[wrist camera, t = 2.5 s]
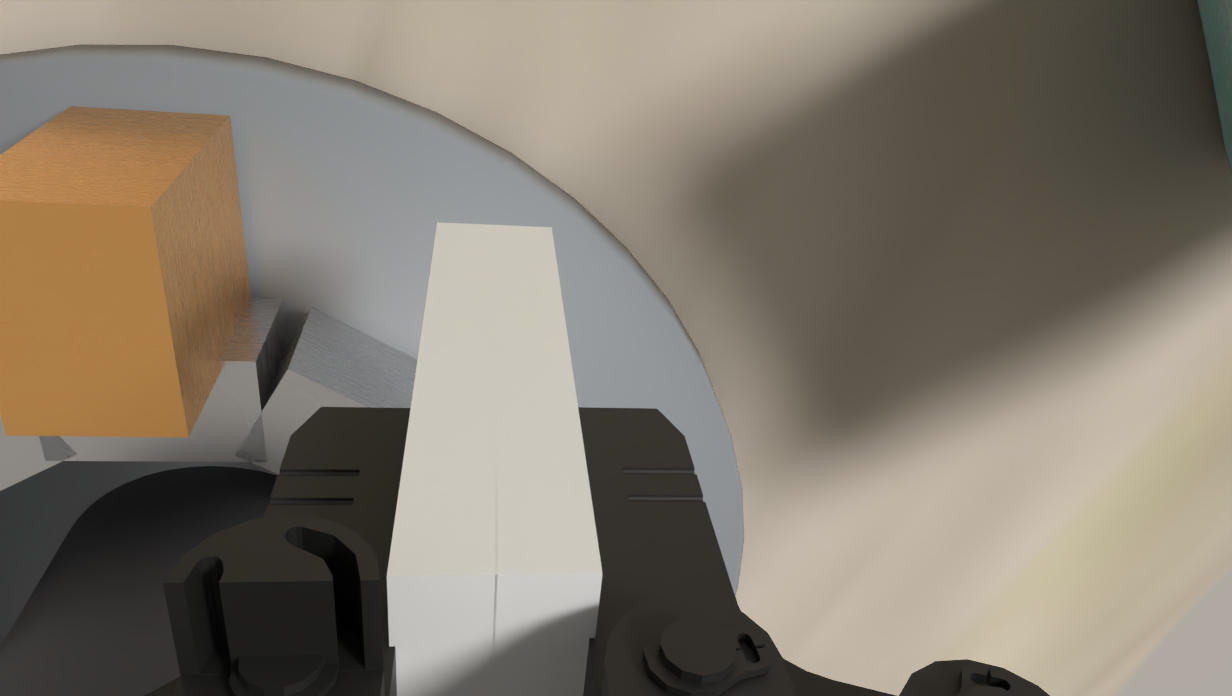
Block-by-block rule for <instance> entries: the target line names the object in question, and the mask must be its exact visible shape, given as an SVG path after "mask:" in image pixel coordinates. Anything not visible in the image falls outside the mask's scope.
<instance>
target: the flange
mask: <svg viewBox="0 0 1232 696" xmlns="http://www.w3.org/2000/svg"><path fill="white" fill-rule="evenodd" d="M70 106H77V107H93V108H110V109H127V110H144V111H161V112H178V113H194V114H211V115H228V116H230V117H231V125H232V134H233V143H234V152H235V161H236V169H237V178H238V187H239V196H240V205H241V213H242V222H243V231H244V240H245V249H246V257H247V266H248V275H249V284H250V293H251V298H272V299H283V304H284V314H285V325H286V335H287V345H288V344H289V342H290V340H291V339H292V337H293V336H294V334H295V332H296V331H297V329H298V327H299V326H300V324H301V322H302V321H303V319H304V318H305V316H306V314H307V313H308V311H309V309H310V308H311V306H312V307H314V308H316V309H318V310H320V311H322V312H324V313H326V314H328V315H330V316H332V317H334V318H336V319H338V320H340V321H342V322H344V323H346V324H348V325H350V326H352V327H354V328H356V329H358V330H360V331H362V332H364V333H366V334H367V335H369V336H371V337H373V338H375V339H377V340H379V341H381V342H383V343H385V344H387V345H389V346H391V347H393V348H395V349H397V350H399V351H401V352H403V353H405V354H407V355H409V356H411V357H413V358H415V359H417V360H418V353H419V346H420V339H421V332H422V325H423V318H424V311H425V304H426V297H427V290H428V283H429V276H430V269H431V262H432V255H433V248H434V241H435V234H436V227H437V222H443V223H465V224H488V225H511V226H534V227H552V232H553V239H554V246H555V253H556V260H557V266H558V273H559V280H560V287H561V294H562V301H563V307H564V314H565V321H566V328H567V335H568V341H569V348H570V355H571V362H572V369H573V375H574V382H575V389H576V396H577V403H578V407H589V408H654V409H658V410H659V411H660V412H661V413H662V414H663V415H664V416H665V417H666V418H667V419H668V420H669V421H670V422H671V423H672V424H673V425H674V426H675V427H676V428H677V429H678V430H679V431H680V432H681V433H682V434H683V435H684V436H685V439H686V442H687V445H688V448H689V452H690V455H691V458H692V461H693V464H694V467H695V470H694V472H695V474H697V477H698V480H699V483H700V487H701V490H702V493H703V502H706V506H707V509H708V512H709V515H710V518H711V521H712V525H713V528H714V531H715V534H716V537H717V540H718V544H719V547H720V550H721V553H722V556H723V560H724V563H725V566H726V569H727V572H728V575H729V579H730V582H731V585H732V588H733V591H734V594H735V595H736V592H737V588H738V582H739V575H740V567H741V559H742V552H743V544H744V523H743V497H742V485H741V481H740V476H739V471H738V466H737V462H736V457H735V452H734V447H733V443H732V438H731V434H730V432H729V429H728V426H727V424H726V421H725V418H724V416H723V413H722V410H721V408H720V405H719V403H718V400H717V397H716V395H715V392H714V390H713V387H712V385H711V382H710V380H709V377H708V374H707V372H706V369H705V367H704V364H703V362H702V359H701V357H700V354H699V352H698V350H697V348H696V347H695V345H694V343H693V341H692V340H691V338H690V336H689V335H688V333H687V331H686V329H685V328H684V326H683V324H682V323H681V321H680V319H679V317H678V316H677V314H676V312H675V311H674V309H673V307H672V305H671V304H670V302H669V300H668V299H667V298H666V296H665V295H664V294H663V293H662V291H661V290H660V289H659V288H658V286H657V285H656V284H655V283H654V281H653V280H652V279H651V278H650V276H649V275H648V274H647V273H646V271H645V270H644V269H643V268H642V266H641V265H640V264H639V263H638V261H637V260H636V259H635V258H634V256H633V255H632V254H631V253H630V251H629V250H628V249H627V248H626V247H625V246H624V245H623V244H622V243H621V242H620V241H619V240H618V239H617V238H616V237H615V236H614V235H613V234H612V233H610V232H609V231H608V230H607V229H606V228H605V227H604V226H603V225H602V224H601V223H600V222H599V221H598V220H597V219H596V218H595V217H593V216H592V215H591V214H590V213H589V212H588V211H587V210H586V209H585V208H584V207H583V206H582V205H581V204H580V203H579V202H578V201H577V200H575V199H574V198H573V197H572V196H570V195H569V194H568V193H566V192H565V191H563V190H562V189H561V188H559V187H558V186H556V185H555V184H554V183H552V182H551V181H550V180H548V179H547V178H545V177H544V176H543V175H541V174H540V173H538V172H537V171H536V170H534V169H533V168H531V167H530V166H529V165H527V164H526V163H524V162H523V161H522V160H520V159H519V158H518V157H516V156H515V155H513V154H512V153H511V152H509V151H507V150H505V149H503V148H501V147H499V146H498V145H496V144H494V143H492V142H490V141H488V140H487V139H485V138H483V137H481V136H479V135H477V134H476V133H474V132H472V131H470V130H468V129H466V128H464V127H463V126H461V125H459V124H457V123H455V122H453V121H452V120H450V119H448V118H446V117H444V116H442V115H440V114H439V113H437V112H434V111H432V110H429V109H426V108H424V107H421V106H419V105H416V104H414V103H411V102H409V101H406V100H403V99H401V98H398V97H396V96H393V95H391V94H388V93H386V92H383V91H381V90H378V89H375V88H373V87H370V86H368V85H365V84H363V83H360V82H358V81H355V80H351V79H347V78H343V77H340V76H336V75H332V74H328V73H324V72H320V71H316V70H312V69H309V68H305V67H301V66H297V65H293V64H289V63H285V62H282V61H278V60H274V59H270V58H266V57H258V56H251V55H243V54H235V53H228V52H220V51H213V50H205V49H197V48H190V47H182V46H175V45H74V46H66V47H58V48H50V49H43V50H35V51H27V52H19V53H11V54H3V55H0V155H1V154H2V153H4V152H5V151H7V150H8V149H10V148H11V147H12V146H14V145H15V144H17V143H18V142H20V141H21V140H23V139H24V138H25V137H27V136H28V135H30V134H31V133H33V132H34V131H36V130H37V129H38V128H40V127H41V126H43V125H44V124H46V123H47V122H49V121H50V120H51V119H53V118H54V117H56V116H57V115H59V114H60V113H62V112H63V111H64V110H66V109H67V108H69V107H70ZM277 476H279V474H277V473H274V472H272V471H270V470H267V469H265V468H262V467H260V466H258V465H255V464H253V463H251V462H150V461H62V462H60V463H58V464H56V465H54V466H52V467H50V468H47V469H45V470H43V471H41V472H39V473H37V474H35V475H33V476H31V477H28V478H26V479H24V480H22V481H20V482H18V483H16V484H14V485H12V486H10V487H7V488H5V489H3V490H1V491H0V696H143V695H146V694H149V693H150V692H152V691H154V690H156V689H158V688H160V687H161V686H163V685H165V684H167V683H169V682H171V681H172V680H174V679H176V678H178V677H179V676H180V670H179V665H178V660H177V655H176V650H175V644H174V639H173V634H172V629H171V624H170V618H169V613H168V608H167V603H166V598H165V592H164V587H163V582H164V581H165V579H166V578H167V577H168V575H169V574H170V572H171V571H172V570H173V568H174V567H175V566H176V564H177V563H178V561H179V560H180V559H181V557H182V556H183V555H184V554H186V553H187V552H189V551H190V550H191V549H193V548H194V547H196V546H197V545H199V544H200V543H202V542H203V541H204V540H206V539H207V538H209V537H210V536H212V535H213V534H215V533H217V532H220V531H223V530H225V529H228V528H231V527H233V526H236V525H239V524H242V523H244V522H247V521H250V520H253V519H260V518H263V517H264V514H265V511H266V508H267V505H270V496H271V493H272V490H273V487H274V484H275V481H276V478H277Z"/></svg>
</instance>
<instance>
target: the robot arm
mask: <svg viewBox="0 0 1232 696" xmlns="http://www.w3.org/2000/svg"><path fill="white" fill-rule="evenodd" d="M694 470H695V467H694V464H693V461H692V458H691V455H690V452H689V448H688V445H687V442H686V439H685V436H684V435H683V434H682V433H681V432H680V431H679V430H678V429H677V428H676V427H675V426H674V425H673V424H672V423H671V422H670V421H669V420H668V419H667V418H666V417H665V416H664V415H663V414H662V413H661V412H660V411H659V410H658V409H654V408H589V407H578V403H577V396H576V389H575V382H574V375H573V369H572V362H571V355H570V348H569V341H568V335H567V328H566V321H565V314H564V307H563V301H562V294H561V287H560V280H559V273H558V266H557V260H556V253H555V246H554V239H553V232H552V227H534V226H511V225H488V224H465V223H443V222H437V227H436V234H435V241H434V248H433V255H432V262H431V269H430V276H429V283H428V290H427V297H426V304H425V311H424V318H423V325H422V332H421V339H420V346H419V353H418V360H417V367H416V374H415V381H414V388H413V395H412V402H411V408H372V407H321V408H319V409H318V410H317V411H316V412H315V413H314V414H313V415H312V416H311V417H310V418H309V419H308V420H307V421H306V422H304V423H303V424H302V425H301V426H300V427H299V428H298V429H297V430H296V431H295V432H294V433H293V434H292V435H291V436H290V439H289V442H288V445H287V448H286V451H285V454H284V457H283V460H282V463H281V466H280V473H279V476H277V478H276V481H275V484H274V487H273V490H272V493H271V496H270V505H267V508H266V511H265V514H264V517H263V518H260V519H253V520H250V521H247V522H244V523H242V524H239V525H236V526H233V527H231V528H228V529H225V530H223V531H220V532H217V533H215V534H213V535H212V536H210V537H209V538H207V539H206V540H204V541H203V542H202V543H200V544H199V545H197V546H196V547H194V548H193V549H191V550H190V551H189V552H187V553H186V554H184V555H183V556H182V557H181V559H180V560H179V561H178V563H177V564H176V566H175V567H174V568H173V570H172V571H171V572H170V574H169V575H168V577H167V578H166V579H165V581H164V582H163V587H164V592H165V598H166V603H167V608H168V613H169V618H170V624H171V629H172V634H173V639H174V644H175V650H176V655H177V660H178V665H179V670H180V676H179V677H178V678H176V679H174V680H172V681H171V682H169V683H167V684H165V685H163V686H161V687H160V688H158V689H156V690H154V691H152V692H150V693H149V694H146V695H143V696H895V695H891V694H887V693H883V692H879V691H875V690H871V689H867V688H863V687H859V686H855V685H850V684H846V683H842V682H838V681H834V680H831V679H828V678H825V677H822V676H819V675H816V674H813V673H810V672H807V671H805V670H803V669H801V668H799V667H798V666H796V665H794V664H792V663H790V662H788V661H787V660H785V659H783V658H782V656H781V655H780V653H779V651H778V650H777V648H776V646H775V644H774V643H773V641H772V639H771V638H770V636H769V634H768V633H767V632H766V631H765V630H763V629H762V628H761V627H760V626H758V625H757V624H756V623H755V622H754V621H752V620H751V619H750V618H749V617H748V616H746V615H745V614H744V613H743V612H741V611H740V609H739V606H738V604H737V601H736V598H735V594H734V591H733V588H732V585H731V582H730V579H729V575H728V572H727V569H726V566H725V563H724V560H723V556H722V553H721V550H720V547H719V544H718V540H717V537H716V534H715V531H714V528H713V525H712V521H711V518H710V515H709V512H708V509H707V506H706V502H703V493H702V490H701V487H700V483H699V480H698V477H697V474H695V472H694ZM899 696H1049V695H1048V694H1047V693H1046V692H1045V691H1044V690H1042V689H1041V688H1040V687H1039V686H1037V685H1035V684H1033V683H1031V682H1029V681H1027V680H1025V679H1023V678H1021V677H1019V676H1018V675H1016V674H1014V673H1012V672H1010V671H1008V670H1006V669H1004V668H1001V667H997V666H992V665H988V664H984V663H980V662H976V661H971V660H951V661H936V662H934V663H932V664H930V665H928V666H926V667H924V668H922V669H920V670H918V671H916V672H914V673H913V674H911V676H910V678H909V680H908V681H907V683H906V685H905V687H904V688H903V690H902V692H901V693H900V695H899Z"/></svg>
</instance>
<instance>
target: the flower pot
mask: <svg viewBox="0 0 1232 696" xmlns="http://www.w3.org/2000/svg"><path fill="white" fill-rule="evenodd" d="M1197 1H1198V6H1199V11H1200V16H1201V21H1202V26H1203V31H1204V36H1205V41H1206V46H1207V51H1208V56H1209V62H1210V67H1211V73H1212V78H1213V83H1214V89H1215V94H1216V100H1217V105H1218V111H1219V117H1220V122H1221V128H1222V134H1223V139H1224V145H1225V150H1226V153H1227V156H1228V160H1229V163H1230V167H1231V170H1232V0H1197Z"/></svg>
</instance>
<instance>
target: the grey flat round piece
mask: <svg viewBox="0 0 1232 696" xmlns="http://www.w3.org/2000/svg"><path fill="white" fill-rule="evenodd" d="M416 367H417V359H415V358H413V357H411V356H409V355H407V354H405V353H403V352H401V351H399V350H397V349H395V348H393V347H391V346H389V345H387V344H385V343H383V342H381V341H379V340H377V339H375V338H373V337H371V336H369V335H367V334H366V333H364V332H362V331H360V330H358V329H356V328H354V327H352V326H350V325H348V324H346V323H344V322H342V321H340V320H338V319H336V318H334V317H332V316H330V315H328V314H326V313H324V312H322V311H320V310H318V309H316V308H314V307H312V306H311V308H310V309H309V311H308V313H307V314H306V316H305V318H304V319H303V321H302V322H301V324H300V326H299V327H298V329H297V331H296V332H295V334H294V336H293V337H292V339H291V340H290V342H289V344H288V345H287V335H286V325H285V314H284V304H283V299H272V298H251V293H250V284H249V275H248V266H247V257H246V249H245V240H244V231H243V222H242V213H241V205H240V196H239V187H238V178H237V169H236V161H235V152H234V143H233V134H232V125H231V117H230V116H228V115H211V114H194V113H178V112H161V111H144V110H127V109H110V108H93V107H77V106H70V107H69V108H67V109H66V110H64V111H63V112H62V113H60V114H59V115H57V116H56V117H54V118H53V119H51V120H50V121H49V122H47V123H46V124H44V125H43V126H41V127H40V128H38V129H37V130H36V131H34V132H33V133H31V134H30V135H28V136H27V137H25V138H24V139H23V140H21V141H20V142H18V143H17V144H15V145H14V146H12V147H11V148H10V149H8V150H7V151H5V152H4V153H2V154H1V155H0V491H1V490H3V489H5V488H7V487H10V486H12V485H14V484H16V483H18V482H20V481H22V480H24V479H26V478H28V477H31V476H33V475H35V474H37V473H39V472H41V471H43V470H45V469H47V468H50V467H52V466H54V465H56V464H58V463H60V462H62V461H150V462H251V463H253V464H255V465H258V466H260V467H262V468H265V469H267V470H270V471H272V472H274V473H277V474H279V473H280V466H281V463H282V460H283V457H284V454H285V451H286V448H287V445H288V442H289V439H290V436H291V435H292V434H293V433H294V432H295V431H296V430H297V429H298V428H299V427H300V426H301V425H302V424H303V423H304V422H306V421H307V420H308V419H309V418H310V417H311V416H312V415H313V414H314V413H315V412H316V411H317V410H318V409H319V408H321V407H372V408H411V402H412V395H413V388H414V381H415V374H416Z"/></svg>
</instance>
